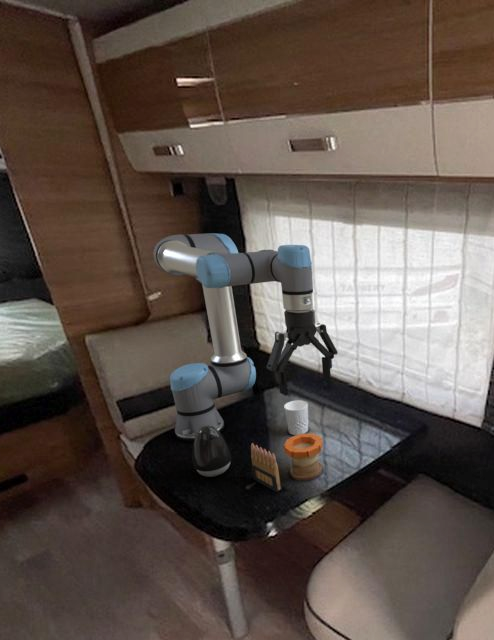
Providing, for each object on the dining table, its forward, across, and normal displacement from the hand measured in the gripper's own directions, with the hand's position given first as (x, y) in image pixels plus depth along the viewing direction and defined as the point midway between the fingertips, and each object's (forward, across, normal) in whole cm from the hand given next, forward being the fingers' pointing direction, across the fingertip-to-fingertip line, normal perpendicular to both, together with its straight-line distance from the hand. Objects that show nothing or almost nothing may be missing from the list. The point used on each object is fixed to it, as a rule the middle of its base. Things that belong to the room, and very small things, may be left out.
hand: (306, 386), depth 113 cm
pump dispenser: (+28, -20, +21) cm, 41 cm away
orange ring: (+20, -1, +2) cm, 20 cm away
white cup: (+28, +11, +25) cm, 39 cm away
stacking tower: (+28, -1, +2) cm, 28 cm away
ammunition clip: (+28, -12, +5) cm, 31 cm away
